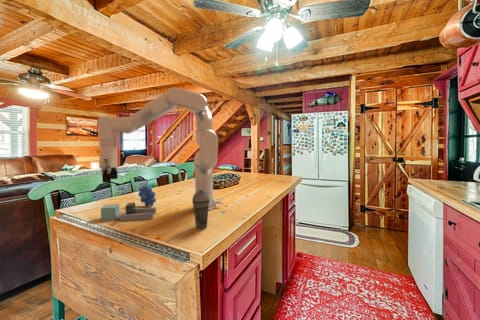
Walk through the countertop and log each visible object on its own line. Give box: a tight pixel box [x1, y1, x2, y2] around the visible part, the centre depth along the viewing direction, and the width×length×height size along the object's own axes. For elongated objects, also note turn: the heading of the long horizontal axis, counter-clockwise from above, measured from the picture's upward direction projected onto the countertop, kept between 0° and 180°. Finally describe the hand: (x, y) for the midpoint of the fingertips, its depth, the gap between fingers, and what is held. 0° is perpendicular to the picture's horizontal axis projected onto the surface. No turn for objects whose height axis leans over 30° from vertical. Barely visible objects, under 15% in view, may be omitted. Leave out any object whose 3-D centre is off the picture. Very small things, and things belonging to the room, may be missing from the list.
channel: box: [120, 206, 157, 222], centre depth 111 cm, size 14×11×3 cm
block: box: [100, 203, 120, 222], centre depth 108 cm, size 6×6×6 cm
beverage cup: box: [192, 180, 210, 230], centre depth 96 cm, size 7×7×20 cm
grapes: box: [138, 184, 157, 207], centre depth 128 cm, size 12×7×12 cm, turn 70°
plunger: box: [116, 201, 136, 220], centre depth 109 cm, size 8×5×6 cm, turn 102°
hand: (110, 180), depth 107 cm, fingers open, 9 cm apart
